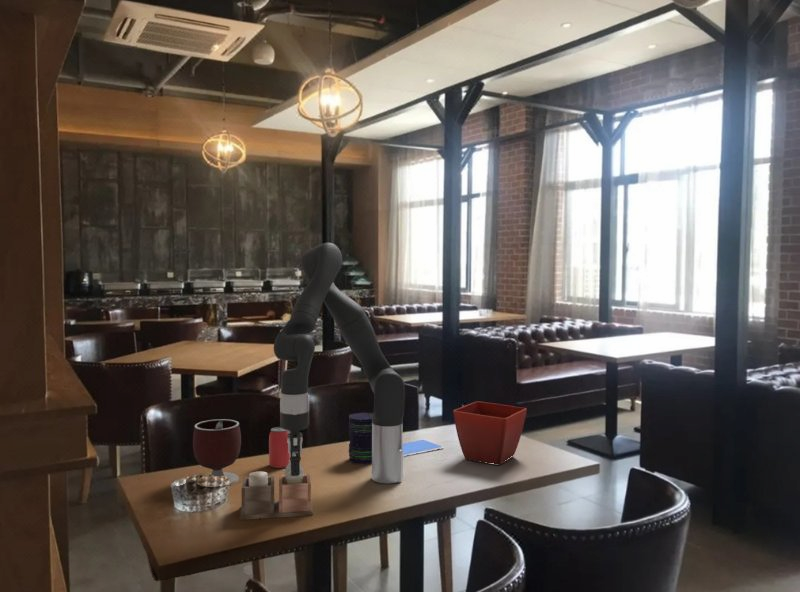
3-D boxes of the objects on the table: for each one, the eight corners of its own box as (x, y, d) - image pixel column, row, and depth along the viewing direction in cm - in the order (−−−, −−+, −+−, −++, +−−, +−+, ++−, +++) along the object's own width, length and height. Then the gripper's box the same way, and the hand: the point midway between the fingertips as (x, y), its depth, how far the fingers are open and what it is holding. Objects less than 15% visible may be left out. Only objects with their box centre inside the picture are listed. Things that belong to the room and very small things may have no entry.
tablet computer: (399, 459, 219) (399, 455, 218) (379, 450, 229) (379, 447, 229) (444, 450, 229) (444, 446, 229) (423, 442, 240) (423, 438, 240)
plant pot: (527, 456, 222) (527, 407, 221) (504, 470, 205) (505, 418, 205) (476, 447, 232) (477, 400, 231) (451, 460, 216) (451, 410, 215)
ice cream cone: (285, 502, 174) (285, 447, 173) (304, 502, 174) (304, 447, 174) (284, 509, 169) (283, 453, 168) (303, 509, 169) (303, 452, 169)
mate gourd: (190, 476, 198) (190, 411, 197) (237, 471, 203) (236, 408, 203) (196, 493, 184) (195, 423, 183) (245, 486, 189) (245, 419, 188)
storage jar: (367, 466, 209) (367, 420, 208) (342, 461, 214) (342, 416, 213) (384, 458, 217) (384, 414, 217) (360, 454, 222) (360, 411, 222)
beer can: (265, 467, 207) (264, 430, 207) (276, 461, 213) (276, 425, 213) (282, 470, 205) (282, 432, 204) (293, 464, 211) (293, 427, 210)
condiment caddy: (311, 502, 177) (311, 466, 177) (312, 515, 168) (312, 477, 168) (241, 506, 174) (241, 469, 173) (239, 519, 165) (239, 481, 164)
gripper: (280, 404, 177) (280, 462, 178) (280, 416, 163) (280, 479, 164) (307, 403, 178) (307, 461, 179) (310, 415, 164) (310, 478, 165)
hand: (294, 470), depth 171 cm, fingers open, 8 cm apart
